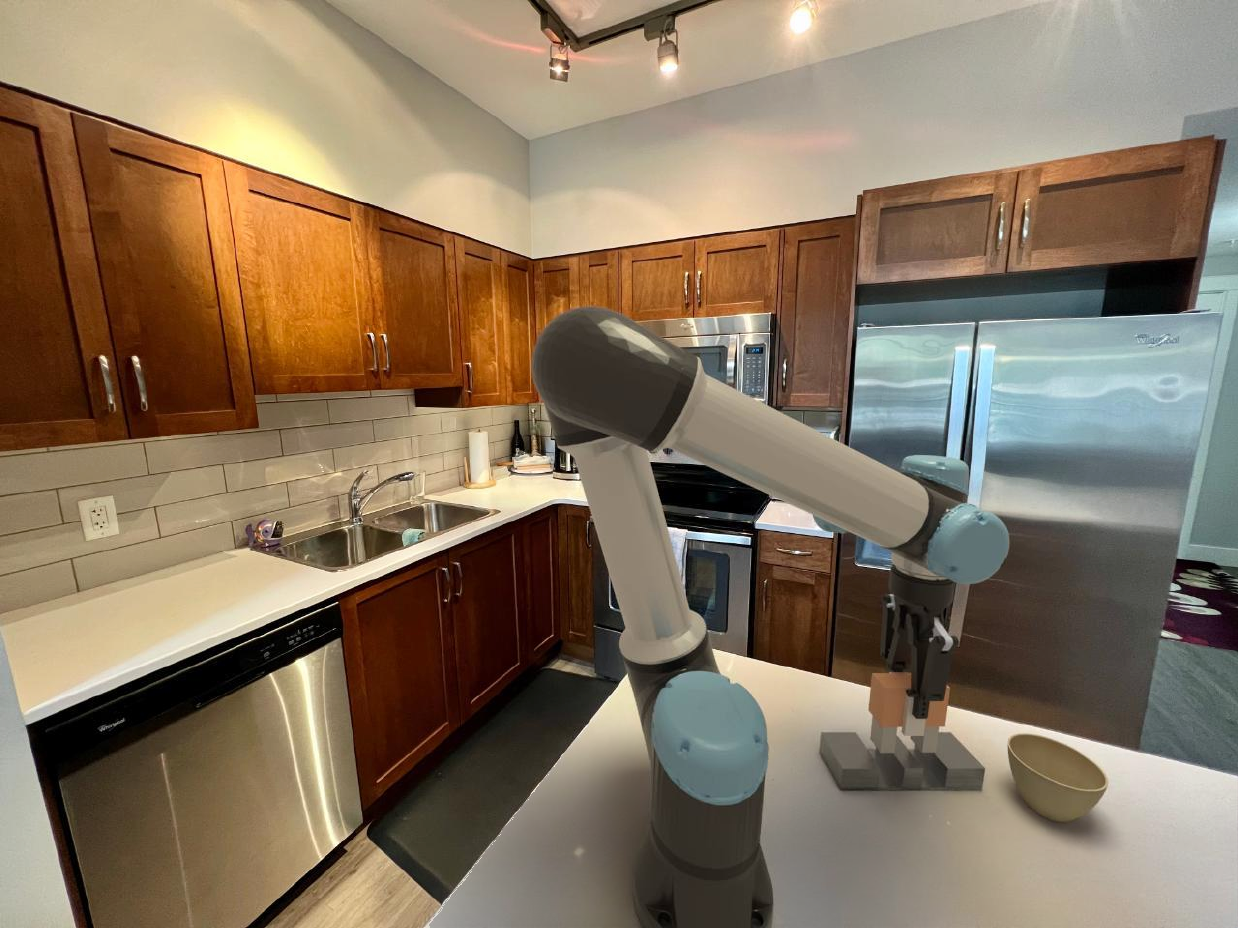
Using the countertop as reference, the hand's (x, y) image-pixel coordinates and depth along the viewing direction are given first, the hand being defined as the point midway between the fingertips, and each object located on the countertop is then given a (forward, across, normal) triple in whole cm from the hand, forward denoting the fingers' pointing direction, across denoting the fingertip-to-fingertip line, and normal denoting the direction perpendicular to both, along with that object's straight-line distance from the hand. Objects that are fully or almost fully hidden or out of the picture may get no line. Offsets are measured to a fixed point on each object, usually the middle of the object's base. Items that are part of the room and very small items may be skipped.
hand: (903, 722), depth 70 cm
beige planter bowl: (+8, -6, -17) cm, 20 cm away
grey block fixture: (+8, 0, 0) cm, 8 cm away
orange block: (+4, 0, 0) cm, 4 cm away
